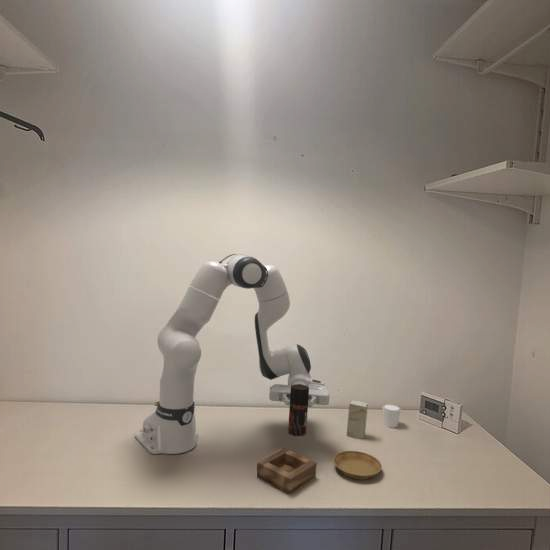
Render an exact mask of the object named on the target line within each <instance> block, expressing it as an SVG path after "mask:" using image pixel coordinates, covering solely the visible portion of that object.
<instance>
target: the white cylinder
mask: <svg viewBox="0 0 550 550" xmlns="http://www.w3.org/2000/svg"><path fill="white" fill-rule="evenodd" d="M400 413H401V407H400V406H398V405H396V404H390V403H389V404H383V405H382V424H384V425H385V426H384V425H383V426H384V427H386V426H388V427H387V428H390V427H396V428H398V425H399V420H400V415H401V414H400Z"/></svg>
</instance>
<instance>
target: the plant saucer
mask: <svg viewBox="0 0 550 550" xmlns="http://www.w3.org/2000/svg"><path fill="white" fill-rule="evenodd" d="M333 463H334V465H335V467H336V468H337V469H338V470H339V471H340V473H341V474H343V475H345V476H346V477H349V478H350V479H355V480H368V479H371V478H373V477H375V476H376V475H377V474H379V472H381V470H382V463H381V461H380V460H378V459H377V458H376V456H375V457H374V456H373V455H371V454H369V453H366V452H362V451H358V450H345V451H340V452H339V453H337V454H335V455H334V456H333Z"/></svg>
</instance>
